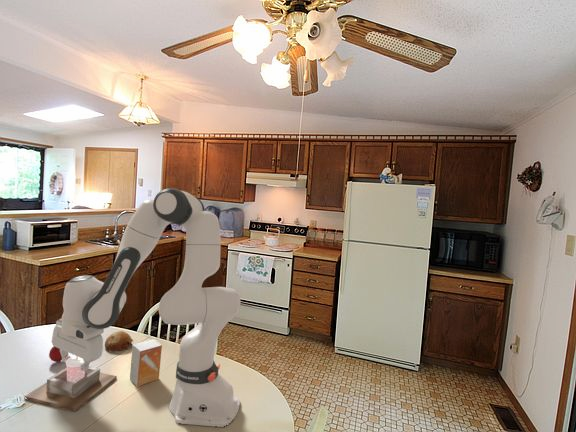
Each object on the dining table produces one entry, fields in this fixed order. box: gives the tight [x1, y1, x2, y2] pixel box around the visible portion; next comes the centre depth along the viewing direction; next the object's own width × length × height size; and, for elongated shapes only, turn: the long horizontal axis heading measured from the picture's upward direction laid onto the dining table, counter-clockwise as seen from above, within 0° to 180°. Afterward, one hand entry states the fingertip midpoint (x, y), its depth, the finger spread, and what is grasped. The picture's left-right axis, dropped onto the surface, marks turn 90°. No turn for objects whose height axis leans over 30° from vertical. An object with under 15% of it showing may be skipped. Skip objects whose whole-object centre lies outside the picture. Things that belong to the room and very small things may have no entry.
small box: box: [129, 338, 163, 388], centre depth 116 cm, size 8×6×13 cm
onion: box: [48, 345, 62, 363], centre depth 120 cm, size 6×6×8 cm
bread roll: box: [104, 330, 134, 352], centre depth 137 cm, size 10×10×8 cm
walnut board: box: [24, 366, 117, 412], centre depth 107 cm, size 18×18×5 cm
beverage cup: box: [65, 355, 85, 383], centre depth 107 cm, size 6×6×14 cm
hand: (75, 365), depth 107 cm, fingers open, 8 cm apart
